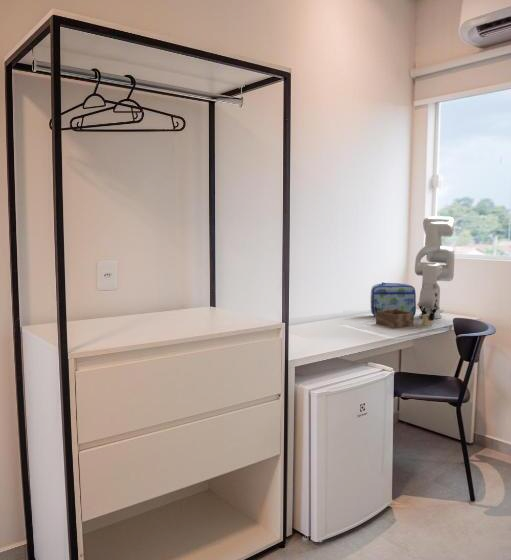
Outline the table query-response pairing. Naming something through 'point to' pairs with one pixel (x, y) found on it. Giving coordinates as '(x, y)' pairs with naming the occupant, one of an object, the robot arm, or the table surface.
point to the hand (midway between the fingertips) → (427, 319)
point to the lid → (427, 320)
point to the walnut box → (395, 318)
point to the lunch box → (393, 297)
